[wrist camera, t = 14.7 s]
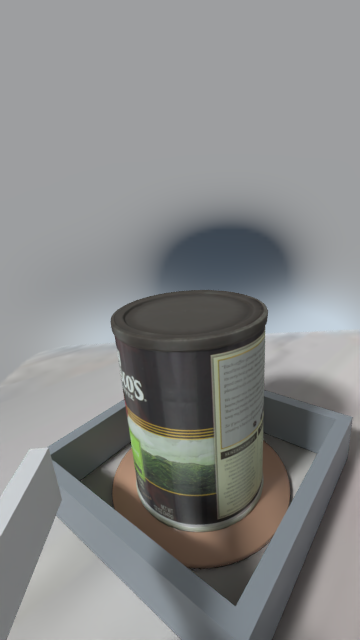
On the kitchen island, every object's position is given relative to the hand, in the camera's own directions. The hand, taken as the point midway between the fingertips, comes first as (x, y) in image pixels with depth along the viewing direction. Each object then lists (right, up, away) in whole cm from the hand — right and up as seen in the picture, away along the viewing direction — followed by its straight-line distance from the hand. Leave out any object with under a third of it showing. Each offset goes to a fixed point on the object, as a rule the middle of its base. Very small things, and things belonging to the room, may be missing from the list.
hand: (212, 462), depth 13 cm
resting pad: (0, -7, +13) cm, 15 cm away
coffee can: (0, -7, +13) cm, 15 cm away
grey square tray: (0, -7, +13) cm, 15 cm away
